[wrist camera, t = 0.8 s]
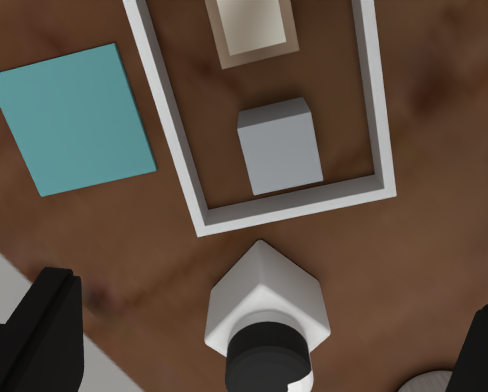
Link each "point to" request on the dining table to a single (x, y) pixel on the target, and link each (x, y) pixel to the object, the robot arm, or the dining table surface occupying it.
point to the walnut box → (251, 29)
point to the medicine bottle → (266, 323)
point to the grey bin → (287, 203)
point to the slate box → (279, 146)
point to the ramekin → (428, 382)
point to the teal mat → (76, 120)
